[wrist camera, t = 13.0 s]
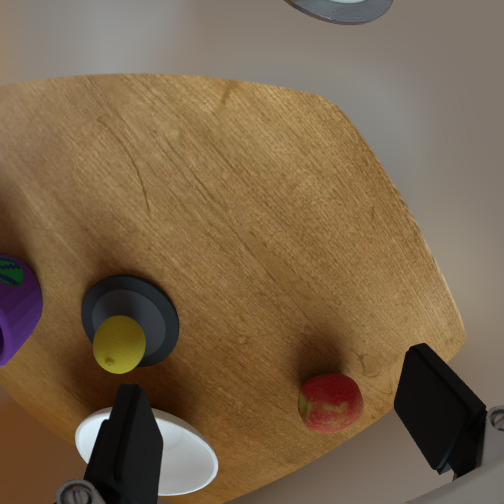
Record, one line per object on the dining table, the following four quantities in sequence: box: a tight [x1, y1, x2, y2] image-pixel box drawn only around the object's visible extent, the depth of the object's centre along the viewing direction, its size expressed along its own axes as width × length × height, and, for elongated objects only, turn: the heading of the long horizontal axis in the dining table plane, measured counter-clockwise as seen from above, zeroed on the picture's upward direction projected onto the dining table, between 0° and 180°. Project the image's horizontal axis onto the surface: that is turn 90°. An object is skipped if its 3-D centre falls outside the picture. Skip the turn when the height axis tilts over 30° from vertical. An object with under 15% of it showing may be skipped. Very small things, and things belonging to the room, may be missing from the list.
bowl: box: [75, 407, 218, 495], centre depth 36 cm, size 20×20×7 cm
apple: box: [298, 373, 364, 433], centre depth 36 cm, size 8×8×8 cm
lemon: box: [93, 315, 146, 374], centre depth 30 cm, size 6×6×8 cm
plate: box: [82, 274, 179, 367], centre depth 34 cm, size 12×12×1 cm
